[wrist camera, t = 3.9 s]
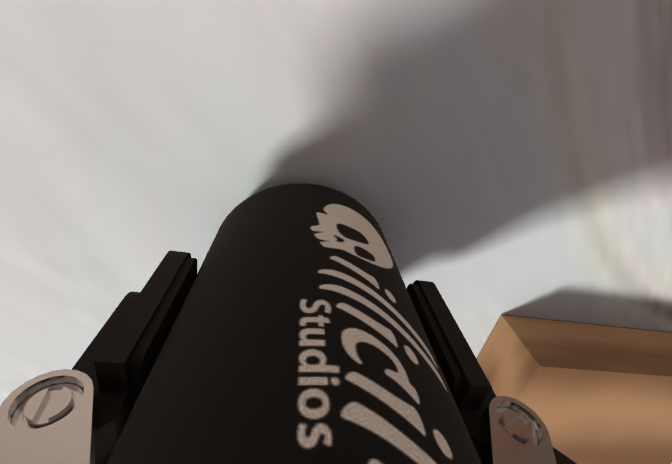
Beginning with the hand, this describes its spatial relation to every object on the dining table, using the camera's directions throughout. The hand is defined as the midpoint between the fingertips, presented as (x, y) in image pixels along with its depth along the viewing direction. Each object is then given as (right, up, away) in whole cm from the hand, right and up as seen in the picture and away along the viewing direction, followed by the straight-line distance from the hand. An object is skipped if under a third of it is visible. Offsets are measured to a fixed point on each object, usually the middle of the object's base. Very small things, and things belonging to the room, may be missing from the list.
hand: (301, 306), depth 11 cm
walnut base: (+14, -8, +9) cm, 18 cm away
